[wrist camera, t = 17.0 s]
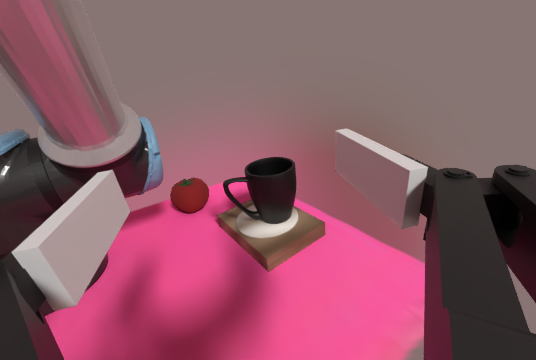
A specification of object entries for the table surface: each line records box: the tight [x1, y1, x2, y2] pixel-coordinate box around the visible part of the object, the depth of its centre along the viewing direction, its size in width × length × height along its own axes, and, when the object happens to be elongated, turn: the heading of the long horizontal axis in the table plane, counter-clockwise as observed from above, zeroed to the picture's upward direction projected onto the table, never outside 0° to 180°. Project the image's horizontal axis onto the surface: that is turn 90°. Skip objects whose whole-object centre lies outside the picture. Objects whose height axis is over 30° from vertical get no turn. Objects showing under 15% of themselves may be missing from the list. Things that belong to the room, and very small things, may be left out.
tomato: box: [170, 178, 209, 213], centre depth 56 cm, size 8×8×7 cm
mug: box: [223, 157, 296, 224], centre depth 42 cm, size 8×12×10 cm
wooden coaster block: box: [217, 200, 325, 272], centre depth 45 cm, size 16×12×3 cm
